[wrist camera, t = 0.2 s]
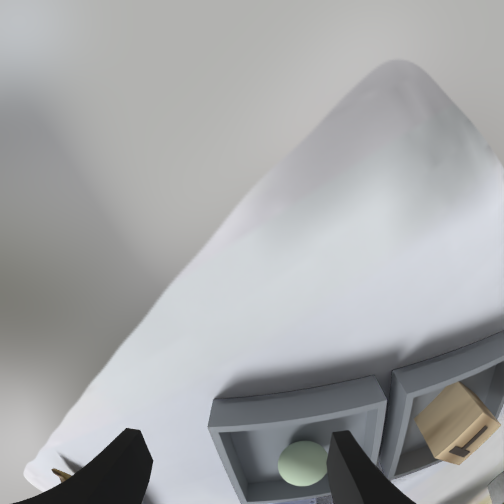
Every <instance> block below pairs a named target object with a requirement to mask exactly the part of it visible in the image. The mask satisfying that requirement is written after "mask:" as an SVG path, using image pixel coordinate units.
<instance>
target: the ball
mask: <svg viewBox="0 0 504 504" xmlns="http://www.w3.org/2000/svg"><path fill="white" fill-rule="evenodd" d="M327 457H328V454H327V452H326V450H325V449H324V448H323V447H322V446H321V445H319V444H317V443H315V442H312V441H298V442H295V443H292V444H290V445H289V446H287V447H286V448H285V449H284V450H283V451H282V453H281V454H280V457H279V460H278V470H279V473H280V475H281V476H282V478H283V479H284V480H285V481H287V482H288V483H290V484H292V485H295V486H309V485H312V484H314V483H316V482H318V481H319V480H321V479H322V478H323V477H324V475H325V474H326V472H327V465H326V462H327Z"/></svg>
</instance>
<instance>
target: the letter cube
mask: <svg viewBox="0 0 504 504" xmlns="http://www.w3.org/2000/svg"><path fill="white" fill-rule="evenodd" d="M414 421H415V422H416V424H417V426H418V428H419V430H420V432H421V433H422V435H423V437H424V439H425V441H426V443H427V444H428V446H429V448H430V450H431V452H432V454H433V456H434V458H436V459H440V460H443V461H446V462H450V463H453V464H457V465H460V464H461V463H462V462H463V461H464V460H466V459H467V458H468V457H469V456H470V455H471V454H472V453H473V452H475V451H476V450H477V449H478V448H479V447H480V446H481V445H482V444H483V443H484V442H485V441H486V440H487V439H488V438H489V437H490V436H491V435H492V434H493V433H494V432H495V431H496V430H497V429H498V428H499V427H500V426H501V424H500V423H499V422H498V421H497V419H496V418H495V417H494V416H493V414H492V413H491V412H490V411H489V409H488V408H487V407H486V406H485V405H484V403H483V402H482V401H481V400H480V398H479V397H478V396H477V395H476V394H475V393H474V392H473V391H471V390H470V389H469V388H467V387H466V386H465V385H464V384H462V383H461V382H460V381H458V382H456V383H453V384H451V385H448V386H446V387H445V388H444V389H443V390H442V391H441V392H440V394H439V395H438V396H437V397H436V398H435V399H434V400H433V401H432V402H431V403H430V404H429V405H428V406H427V407H426V408H425V409H424V410H423V411H421V412H420V413H419V414H418V415H417V416H416V417H415V418H414Z"/></svg>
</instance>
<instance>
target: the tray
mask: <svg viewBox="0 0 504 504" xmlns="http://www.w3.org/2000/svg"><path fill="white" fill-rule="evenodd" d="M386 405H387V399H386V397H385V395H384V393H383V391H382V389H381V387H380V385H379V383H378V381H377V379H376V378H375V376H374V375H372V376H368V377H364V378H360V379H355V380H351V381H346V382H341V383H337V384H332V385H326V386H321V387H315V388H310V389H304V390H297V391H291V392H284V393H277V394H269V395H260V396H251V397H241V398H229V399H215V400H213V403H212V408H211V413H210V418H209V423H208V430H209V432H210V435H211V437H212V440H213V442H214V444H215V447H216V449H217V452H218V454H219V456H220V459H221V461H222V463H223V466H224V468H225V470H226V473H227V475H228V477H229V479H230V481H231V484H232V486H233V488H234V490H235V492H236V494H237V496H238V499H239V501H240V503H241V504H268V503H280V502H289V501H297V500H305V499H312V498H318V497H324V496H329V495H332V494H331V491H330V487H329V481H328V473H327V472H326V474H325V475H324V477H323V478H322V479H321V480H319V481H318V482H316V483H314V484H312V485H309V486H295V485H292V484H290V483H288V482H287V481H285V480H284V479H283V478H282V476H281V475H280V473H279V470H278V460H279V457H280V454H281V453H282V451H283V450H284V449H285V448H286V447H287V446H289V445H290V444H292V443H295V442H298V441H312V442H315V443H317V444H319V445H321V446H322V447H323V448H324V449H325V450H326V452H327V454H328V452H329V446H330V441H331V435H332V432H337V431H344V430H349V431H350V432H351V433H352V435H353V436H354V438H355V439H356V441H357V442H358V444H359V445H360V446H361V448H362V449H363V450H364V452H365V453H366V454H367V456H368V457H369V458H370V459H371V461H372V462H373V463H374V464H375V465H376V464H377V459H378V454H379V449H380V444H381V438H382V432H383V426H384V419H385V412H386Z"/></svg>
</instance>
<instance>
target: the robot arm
mask: <svg viewBox="0 0 504 504" xmlns="http://www.w3.org/2000/svg"><path fill="white" fill-rule="evenodd" d="M152 464H153V459H152V457H151V454H150V452H149V450H148V448H147V445H146V443H145V440H144V438H143V436H142V433H141V431H140V430H136V429H130V428H126V429H125V430H124V431H123V432H122V433H121V434H120V435H119V436H117V437H116V438H115V439H114V440H113V441H112V442H111V443H110V444H109V445H108V446H107V447H106V448H105V449H104V450H103V451H102V452H101V453H100V454H98V455H97V456H96V457H95V458H94V459H93V460H92V461H91V462H89V463H88V464H87V465H86V466H84V467H83V468H82V469H81V470H79V471H78V472H77V473H75V474H74V475H73V476H71V477H70V478H68V479H67V480H65V481H64V482H62V483H60V484H59V485H57V486H55V487H53V488H52V489H50V490H48V491H45V492H43V493H41V494H39V495H37V496H35V497H32V498H29V499H26V500H23V501H20V502H17V503H13V504H141V502H142V500H143V497H144V494H145V491H146V489H147V486H148V483H149V479H150V475H151V470H152ZM326 465H327V473H328V481H329V487H330V491H331V494H332V498H333V502H334V504H416V503H415V502H413V501H412V500H411V499H409V498H408V497H407V496H406V495H404V494H403V493H402V492H401V491H400V490H399V489H398V488H397V487H395V486H394V485H393V484H392V483H391V482H390V481H389V480H388V479H387V478H386V477H385V475H384V474H383V473H382V472H381V471H380V470H379V469H378V468H377V467H376V465H375V464H374V463H373V462H372V461H371V459H370V458H369V457H368V456H367V454H366V453H365V452H364V450H363V449H362V448H361V446H360V445H359V444H358V442H357V441H356V439H355V438H354V436H353V435H352V433H351V432H350V431H349V430H344V431H337V432H332V435H331V441H330V446H329V452H328V457H327V462H326ZM268 504H317V502H316V498H312V499H305V500H297V501H289V502H280V503H268Z"/></svg>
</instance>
